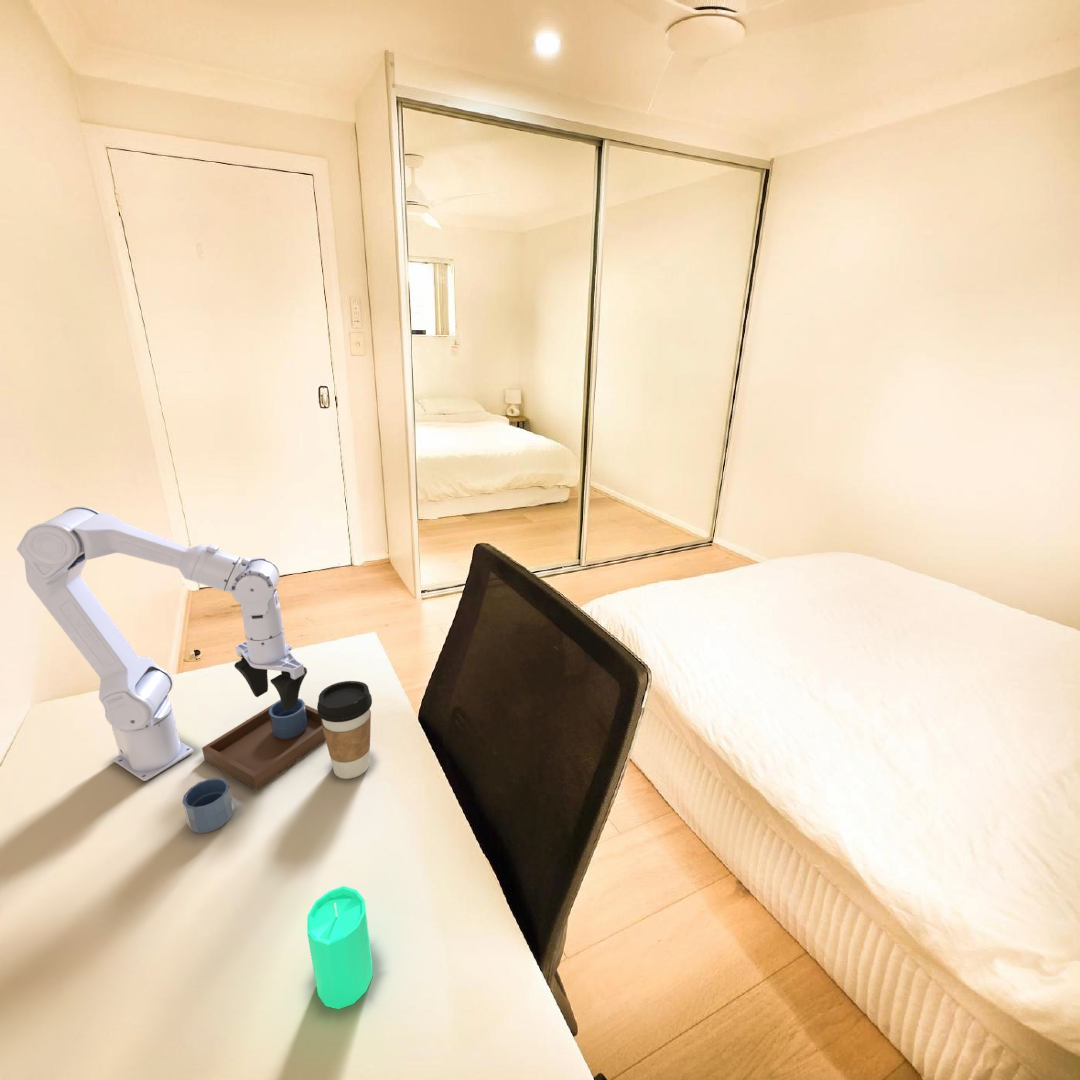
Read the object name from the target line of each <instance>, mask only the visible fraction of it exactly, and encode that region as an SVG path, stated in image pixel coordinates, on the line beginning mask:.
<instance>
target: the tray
mask: <svg viewBox="0 0 1080 1080" xmlns="http://www.w3.org/2000/svg"><path fill="white" fill-rule="evenodd" d="M280 700H281V699H279V700H277V701H276V702H278V701H280ZM276 702H274V703H273V704H275V703H276ZM273 704H271V705H269V706H267V707H265V708H264V709H263V710H261V711H260V712H258V713H256V714H254V715H253V716H252V717H250V718H248V719H246V720H245V721H243V722H242V723H240V724H238V725H237V726H235V727H234V728H232V729H230V730H229V731H227V732H225V733H224V734H222V735H220V736H219V737H217V738H215V739H214V740H212V741H211V742H209V743H207V744H206V745H204V746H203V747H202V748H201V750H202V755H203V759H204V761H206V762H207V763H209V764H211V765H213V766H214V767H216V768H218V769H219V770H220V771H222V772H224V773H226V774H227V775H230V776H231V777H233V778H234V779H236V780H238V781H240V782H242V783H243V784H245V785H246V786H248V787H250V788H252V789H253V790H255V791H258V790H259V789H260V788H262V787H263V786H264V785H266V784H267V783H268V782H269V781H271V780H272V779H273V778H275V777H276V776H277V775H279V774H281V772H283V771H284V770H286V769H287V768H288V767H290V766H291V765H293V764H294V763H295V762H297V761H298V760H299V759H300V758H302V757H303V756H305V755H306V754H307V753H309V752H310V751H311V750H313V749H314V748H315V747H316V746H318V745H319V744H321V743H322V742H323V741H324V740H326V739H325V735H324V731H323V727H322V723H321V721H322V718H321V717H320V716H319V715H318V709H317V708H314V707H311V706H309V705H307V704H305V709H306V716H307V727H306V729H305V730H304V731H303V732H302V733H301V734H300V735H298V736H297V737H294V738H291V739H280V738H277V737H275V736H274V735H273V733H272V728H271V722H270V716H269V710H270V707H271V706H272V705H273Z"/></svg>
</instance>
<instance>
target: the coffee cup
mask: <svg viewBox="0 0 1080 1080" xmlns="http://www.w3.org/2000/svg"><path fill="white" fill-rule="evenodd" d="M372 704H373V698H372V694H371V692H370V689H369V685H368V684H366V682H362V681H358V680H345V681H339V682H335V683H333V684H331V685H329V686H326V687H325V688H323V690H322V691H321V692H320V693H319V695H318V702H317V704H316V705H317V706H316V710H318V715H319V716H320V717H321V718H322V721H321V723H322V727H323V731H324V735H325V739H324V740H325V743H326V747H327V750H328V754H329V757H330V761H331V766H332V770H333V773H334V775H335V776H336V777H337V778H340V779H345V780H349V779H354V778H357V777H360V776H361V775H363V774H364V773H365V772H366V771H367V770H369V767H370V765H371V727H372V726H371V725H372V724H371V723H372V722H371V721H372V711H371V707H372Z"/></svg>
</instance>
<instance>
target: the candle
mask: <svg viewBox="0 0 1080 1080" xmlns="http://www.w3.org/2000/svg"><path fill="white" fill-rule="evenodd" d="M306 920H307V921H306V935H307V940H308V944H309V951H310V957H311V962H312V969H313V974H314V980H315V986H316V992H317V996H318V998H319V1000H320V1001H321V1003H323V1005H324V1006H325V1007H327V1008H330V1009H331V1008H332V1009H335V1010H340V1009H343V1008H346V1007H349V1006H352V1005H354V1004H355V1003H356V1002H357V1001H358V1000H359V999H361V997H363V995H364V994H366V993H367V991H368V989H369V986H370V984H371V981H372V979H373V977H374V976H373V975H374V974H373V959H372V950H371V942H370V941H371V940H370V933H369V926H368V917H367V907H366V900H365V898H364V897H363V896H362V894H361V893H360V892H359V891H358V890H357V889H355V888H351V887H350V886H349V887H348V886H345V885H341V886H339V887H337V888H334V889H331V890H329V891H327V892H326V893H324V894H323V895H322V896H320V897H319V898H318V899H317V900H315V901H314V903H313V905H312V907H311V908H310V910H309V911H308V914H307V919H306Z"/></svg>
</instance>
